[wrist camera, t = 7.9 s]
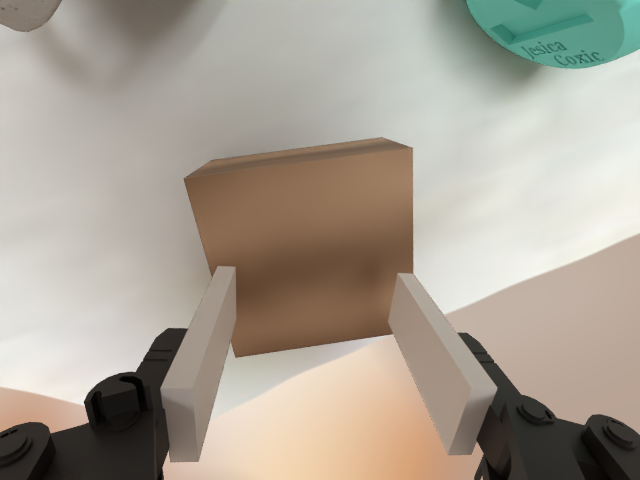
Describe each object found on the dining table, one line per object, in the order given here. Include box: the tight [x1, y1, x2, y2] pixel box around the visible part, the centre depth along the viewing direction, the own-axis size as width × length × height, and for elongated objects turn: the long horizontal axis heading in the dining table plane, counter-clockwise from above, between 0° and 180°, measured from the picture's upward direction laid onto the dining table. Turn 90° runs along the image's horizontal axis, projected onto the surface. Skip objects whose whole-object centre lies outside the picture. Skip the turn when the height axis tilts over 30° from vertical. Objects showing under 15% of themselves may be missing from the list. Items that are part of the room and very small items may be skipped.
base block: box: [184, 137, 413, 358], centre depth 20 cm, size 11×11×6 cm
